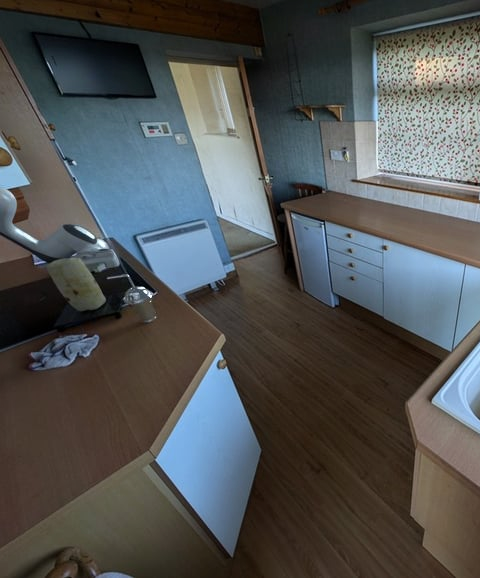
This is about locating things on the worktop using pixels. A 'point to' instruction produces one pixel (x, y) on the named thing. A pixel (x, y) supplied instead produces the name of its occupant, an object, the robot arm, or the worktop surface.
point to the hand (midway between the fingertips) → (80, 273)
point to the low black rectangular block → (90, 312)
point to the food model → (76, 283)
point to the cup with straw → (139, 301)
